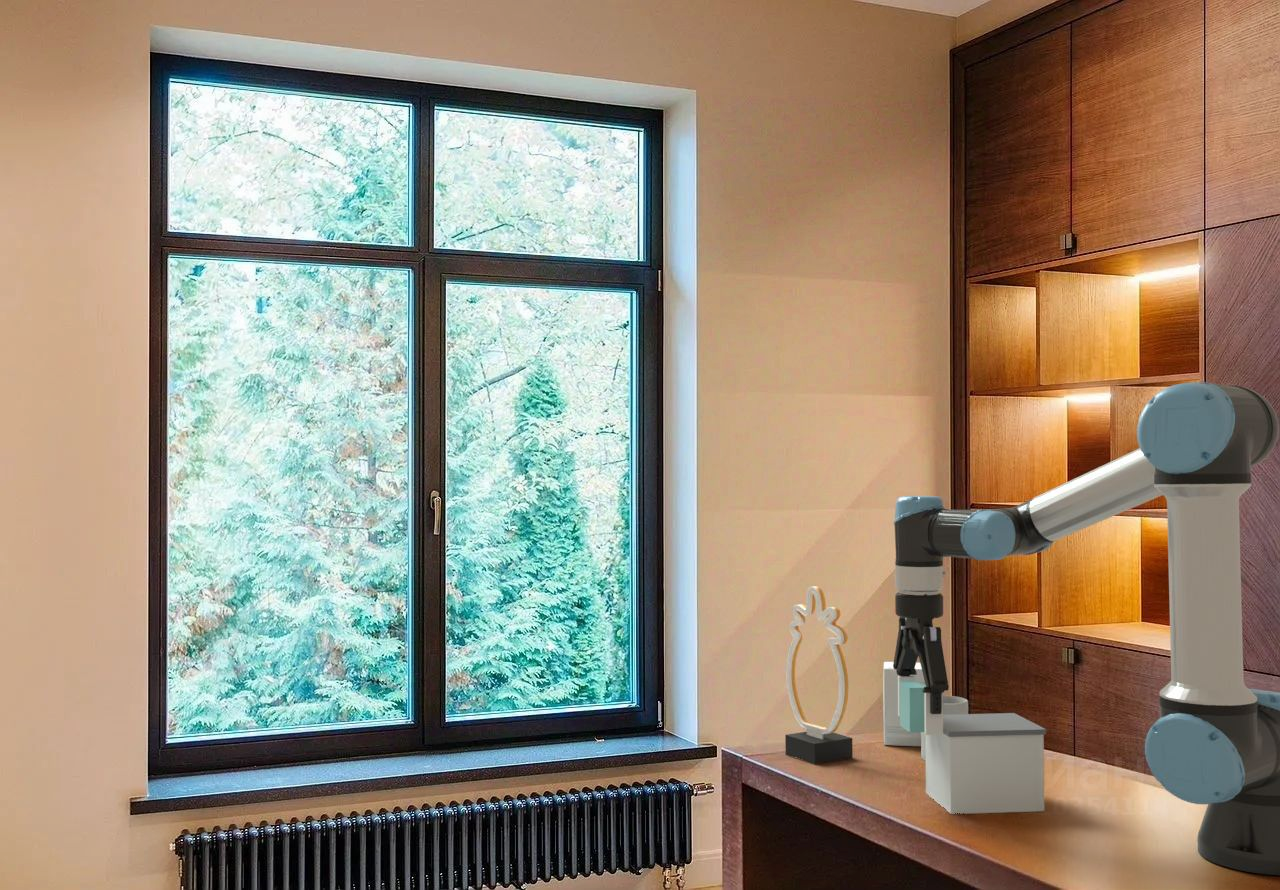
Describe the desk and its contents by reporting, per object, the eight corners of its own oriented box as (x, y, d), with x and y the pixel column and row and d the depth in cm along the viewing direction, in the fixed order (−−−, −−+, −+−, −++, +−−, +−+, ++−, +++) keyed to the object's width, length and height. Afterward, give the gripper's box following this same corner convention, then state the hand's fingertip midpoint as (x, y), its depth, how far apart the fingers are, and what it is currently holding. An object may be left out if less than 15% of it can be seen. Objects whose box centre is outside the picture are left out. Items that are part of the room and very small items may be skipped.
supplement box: (931, 748, 233) (930, 669, 233) (883, 746, 234) (882, 668, 235) (929, 737, 242) (929, 662, 242) (883, 735, 243) (883, 660, 244)
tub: (1044, 811, 190) (1043, 734, 190) (950, 814, 188) (950, 736, 189) (1013, 790, 202) (1013, 718, 202) (925, 793, 200) (925, 720, 201)
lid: (1046, 743, 190) (1045, 689, 190) (917, 746, 188) (917, 692, 188) (1014, 726, 202) (1013, 675, 202) (893, 729, 200) (892, 678, 201)
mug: (978, 762, 221) (978, 701, 222) (940, 766, 218) (939, 705, 218) (938, 748, 232) (937, 690, 233) (900, 752, 229) (900, 694, 229)
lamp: (867, 762, 221) (865, 588, 222) (828, 769, 217) (827, 591, 217) (809, 744, 236) (808, 581, 236) (772, 750, 231) (771, 583, 232)
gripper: (969, 600, 183) (970, 742, 182) (917, 583, 208) (917, 708, 207) (921, 601, 182) (921, 743, 182) (874, 584, 207) (874, 709, 207)
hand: (919, 724), depth 194 cm, fingers open, 13 cm apart
